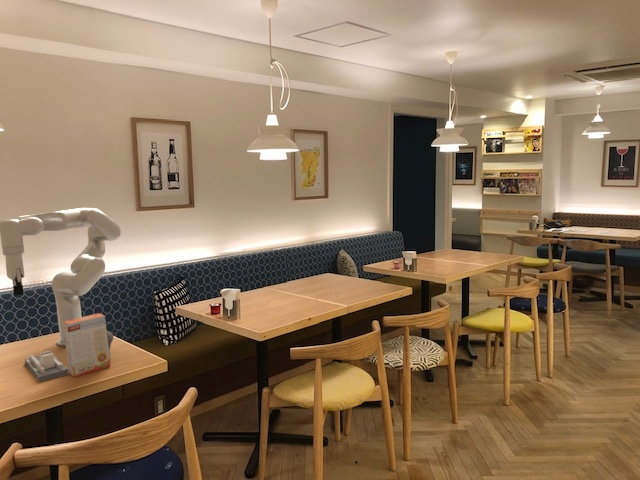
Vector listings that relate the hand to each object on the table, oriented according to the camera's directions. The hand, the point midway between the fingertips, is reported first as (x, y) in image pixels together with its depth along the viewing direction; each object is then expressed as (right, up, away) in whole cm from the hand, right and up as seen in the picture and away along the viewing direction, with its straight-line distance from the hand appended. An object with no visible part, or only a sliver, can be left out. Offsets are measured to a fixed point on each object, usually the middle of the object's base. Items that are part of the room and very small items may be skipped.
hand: (18, 294), depth 214 cm
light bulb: (+34, -26, +5) cm, 43 cm away
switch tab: (+18, -26, -12) cm, 34 cm away
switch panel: (+15, -28, -8) cm, 33 cm away
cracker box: (+34, -28, -11) cm, 45 cm away
